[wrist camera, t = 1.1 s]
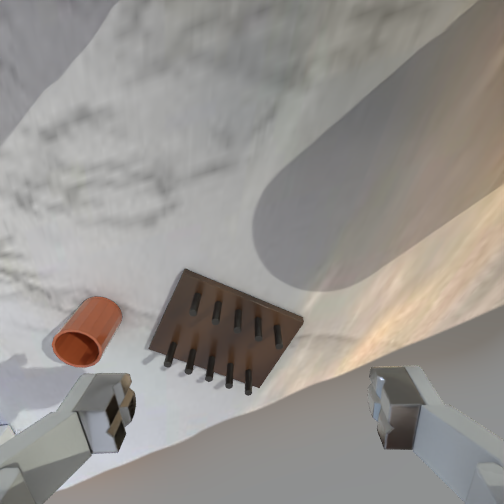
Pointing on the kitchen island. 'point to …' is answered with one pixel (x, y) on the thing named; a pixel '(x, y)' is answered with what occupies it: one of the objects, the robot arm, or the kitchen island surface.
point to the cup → (87, 332)
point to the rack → (223, 331)
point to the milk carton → (5, 434)
